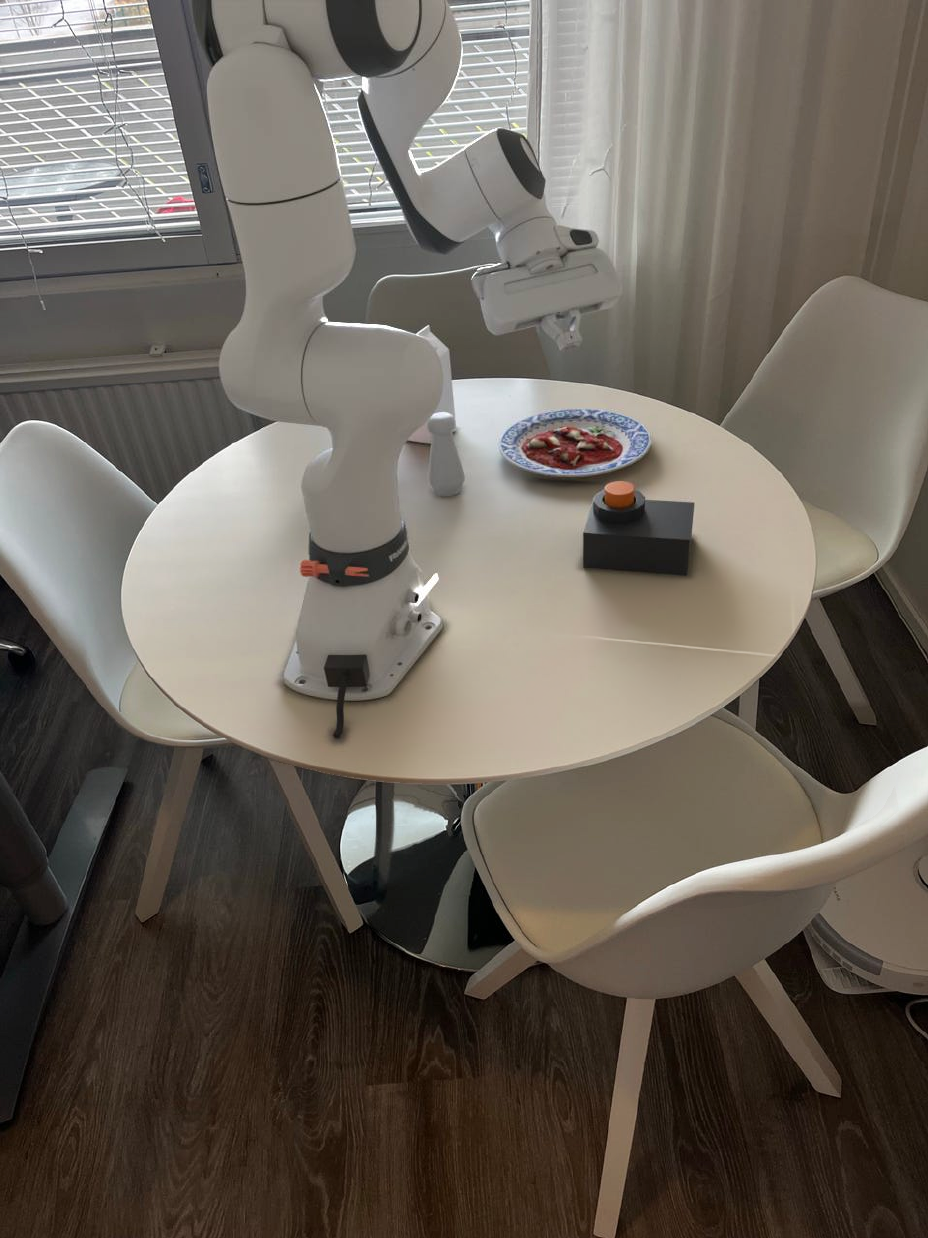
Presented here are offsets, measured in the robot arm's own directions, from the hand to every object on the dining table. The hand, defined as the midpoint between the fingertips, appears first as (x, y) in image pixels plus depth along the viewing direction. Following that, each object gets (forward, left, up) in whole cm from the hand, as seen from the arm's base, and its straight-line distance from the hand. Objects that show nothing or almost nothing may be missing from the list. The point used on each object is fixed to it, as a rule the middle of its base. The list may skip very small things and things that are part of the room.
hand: (571, 346), depth 119 cm
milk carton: (+23, +30, -25) cm, 46 cm away
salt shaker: (+3, +21, -25) cm, 33 cm away
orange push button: (-10, -8, -18) cm, 22 cm away
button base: (-11, -11, -25) cm, 30 cm away
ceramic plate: (+19, +3, -25) cm, 32 cm away
